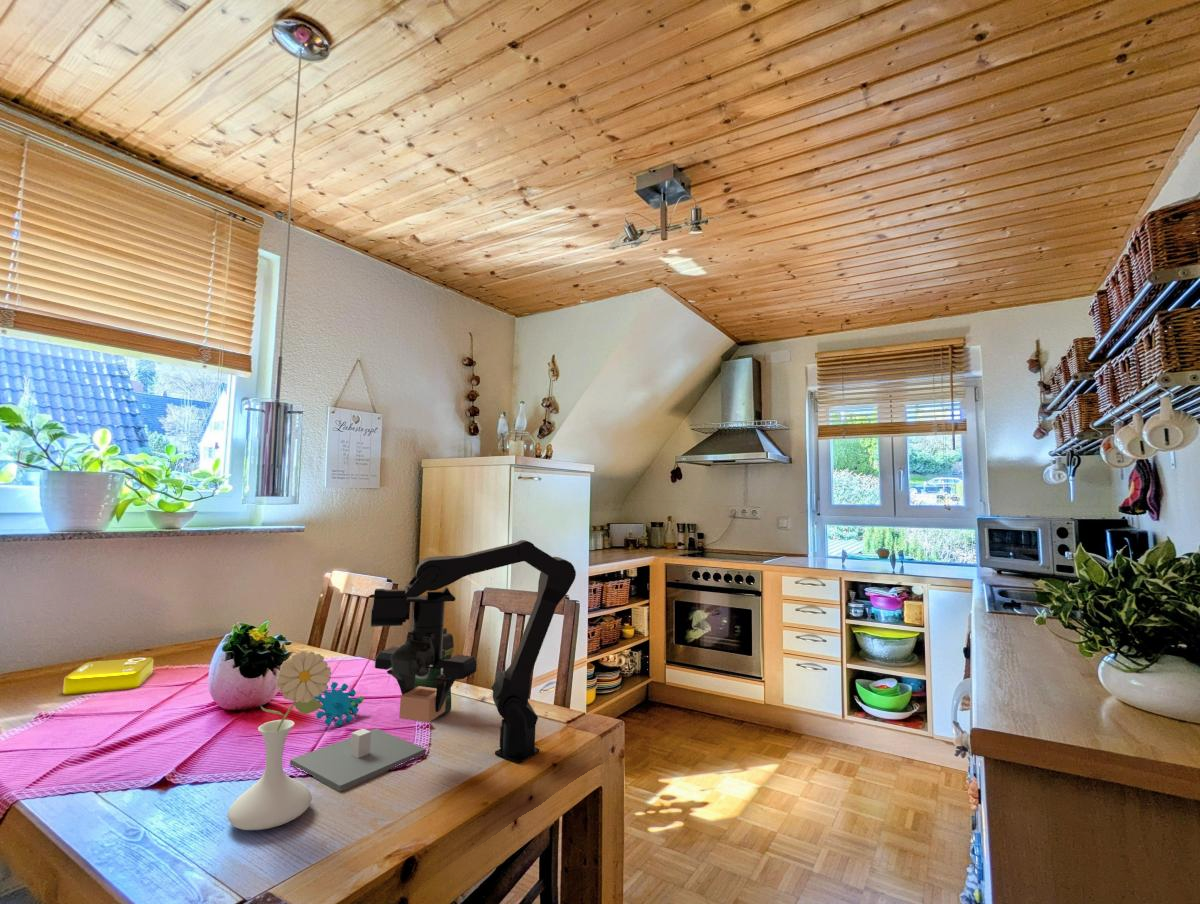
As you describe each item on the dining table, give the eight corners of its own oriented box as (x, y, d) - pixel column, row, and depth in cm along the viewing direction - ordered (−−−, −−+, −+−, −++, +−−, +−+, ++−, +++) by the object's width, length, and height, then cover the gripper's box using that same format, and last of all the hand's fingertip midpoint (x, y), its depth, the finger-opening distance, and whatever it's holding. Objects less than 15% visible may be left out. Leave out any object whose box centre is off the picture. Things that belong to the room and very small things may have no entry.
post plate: (425, 754, 112) (427, 727, 112) (339, 791, 97) (341, 761, 97) (375, 733, 120) (377, 708, 121) (289, 765, 106) (291, 737, 106)
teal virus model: (317, 725, 120) (312, 681, 126) (306, 740, 122) (302, 696, 128) (368, 719, 127) (362, 678, 133) (357, 733, 129) (351, 693, 136)
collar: (445, 711, 110) (446, 689, 110) (428, 722, 104) (429, 700, 104) (417, 707, 111) (418, 686, 112) (399, 718, 105) (400, 695, 106)
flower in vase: (218, 846, 81) (232, 665, 83) (234, 805, 92) (246, 646, 94) (320, 827, 86) (331, 658, 88) (324, 791, 97) (333, 640, 99)
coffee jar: (456, 711, 134) (460, 630, 135) (435, 723, 127) (439, 637, 128) (423, 704, 137) (427, 626, 139) (400, 716, 130) (404, 632, 132)
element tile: (84, 678, 150) (86, 659, 151) (154, 672, 157) (155, 654, 157) (59, 697, 137) (61, 676, 137) (136, 690, 143) (138, 670, 143)
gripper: (358, 628, 104) (351, 717, 102) (450, 639, 99) (444, 732, 97) (395, 617, 114) (390, 697, 113) (480, 626, 109) (475, 710, 108)
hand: (422, 709), depth 108 cm, fingers closed on collar, 6 cm apart
